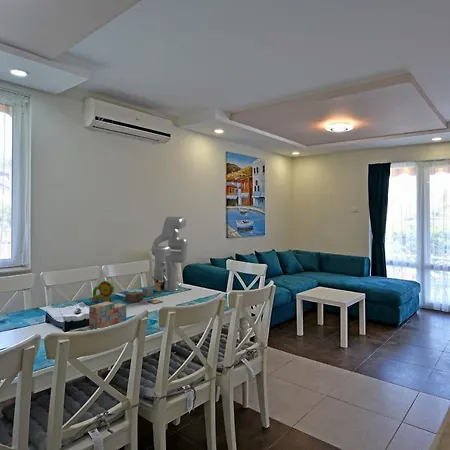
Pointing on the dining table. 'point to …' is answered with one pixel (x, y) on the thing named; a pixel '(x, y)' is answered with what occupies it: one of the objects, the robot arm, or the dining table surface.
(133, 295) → the walnut block
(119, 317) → the stack of blocks
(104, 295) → the toy lion
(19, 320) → the dining table surface
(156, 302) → the mat
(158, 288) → the honey cube
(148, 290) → the grey cube
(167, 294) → the dining table surface
